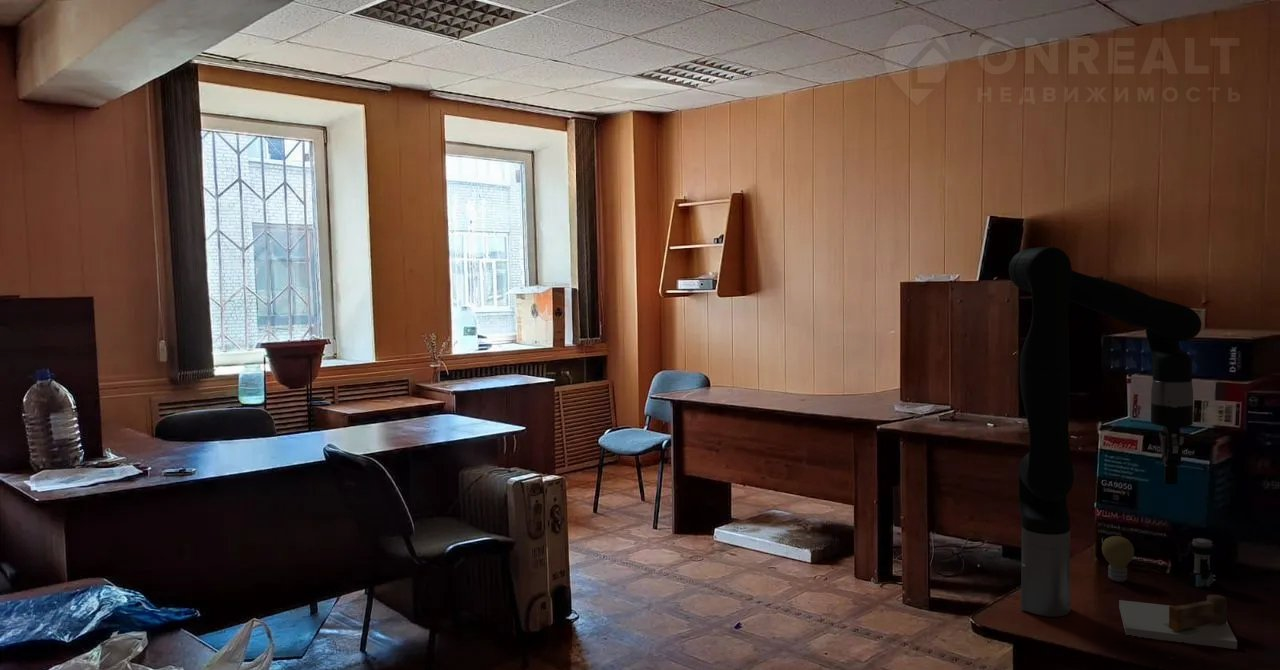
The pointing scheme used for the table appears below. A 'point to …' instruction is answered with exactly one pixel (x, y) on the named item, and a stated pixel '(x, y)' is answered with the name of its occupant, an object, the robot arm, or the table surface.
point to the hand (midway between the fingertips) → (1170, 483)
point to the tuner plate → (1155, 625)
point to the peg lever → (1198, 613)
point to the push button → (1201, 562)
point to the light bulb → (1117, 556)
